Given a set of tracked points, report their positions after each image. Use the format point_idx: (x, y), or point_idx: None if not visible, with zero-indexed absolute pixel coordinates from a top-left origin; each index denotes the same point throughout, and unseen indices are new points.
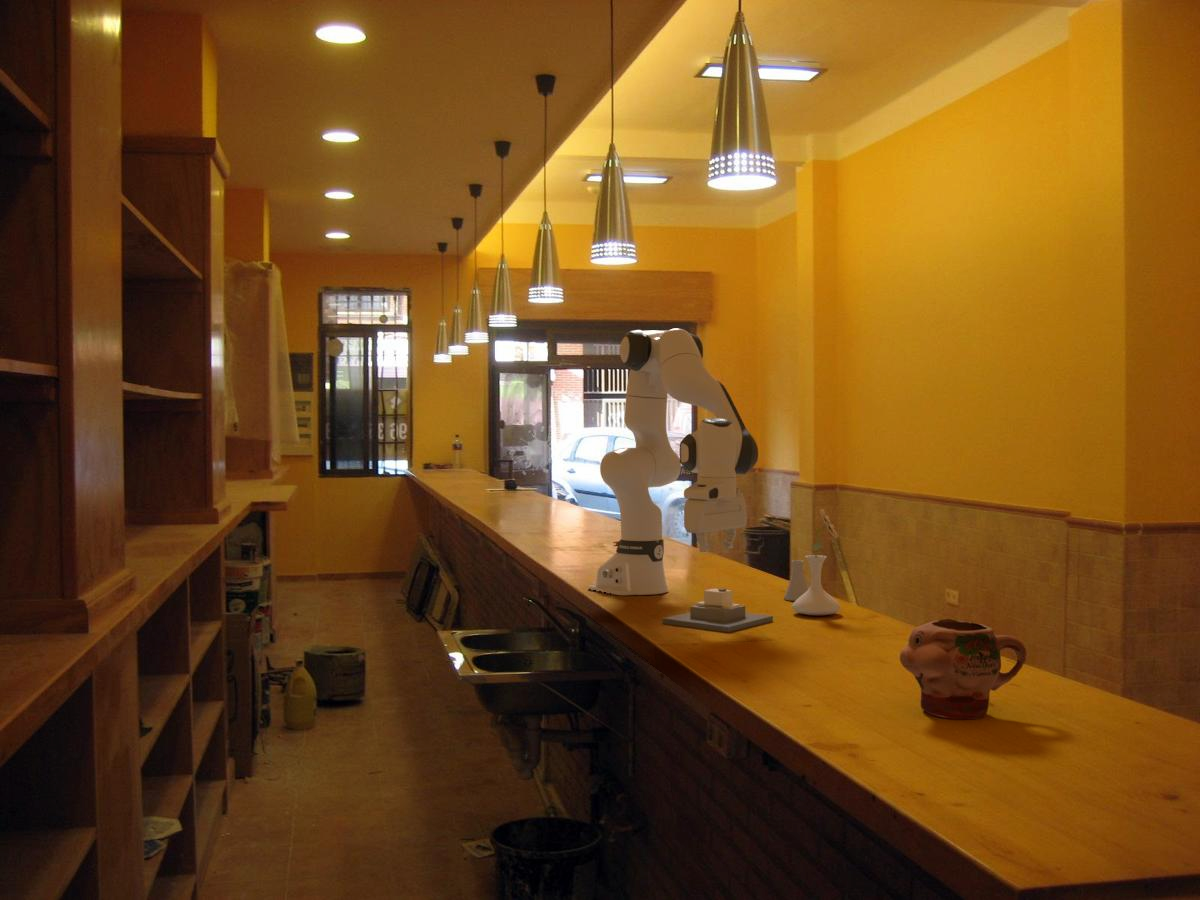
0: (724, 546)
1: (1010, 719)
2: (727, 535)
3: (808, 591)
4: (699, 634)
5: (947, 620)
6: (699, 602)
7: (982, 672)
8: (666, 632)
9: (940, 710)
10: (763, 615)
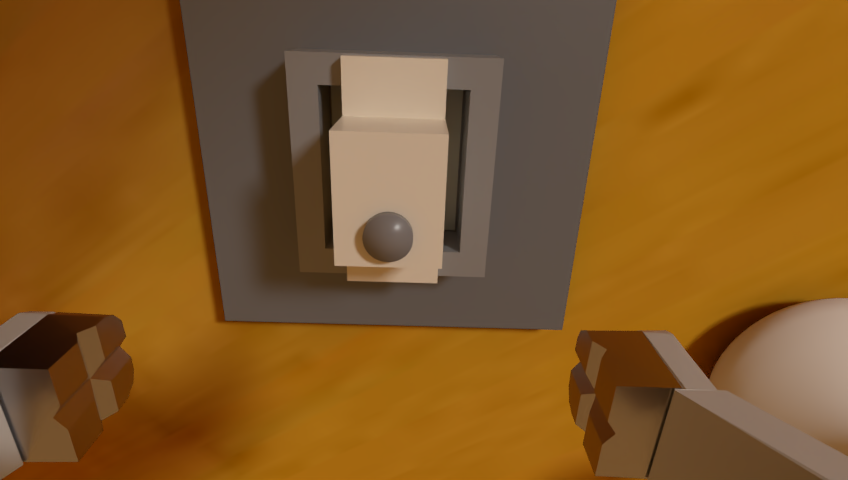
0: (587, 345)
1: None
2: (754, 458)
3: (838, 424)
4: (120, 243)
5: None
6: (360, 66)
7: None
8: (35, 105)
9: None
10: (552, 296)
